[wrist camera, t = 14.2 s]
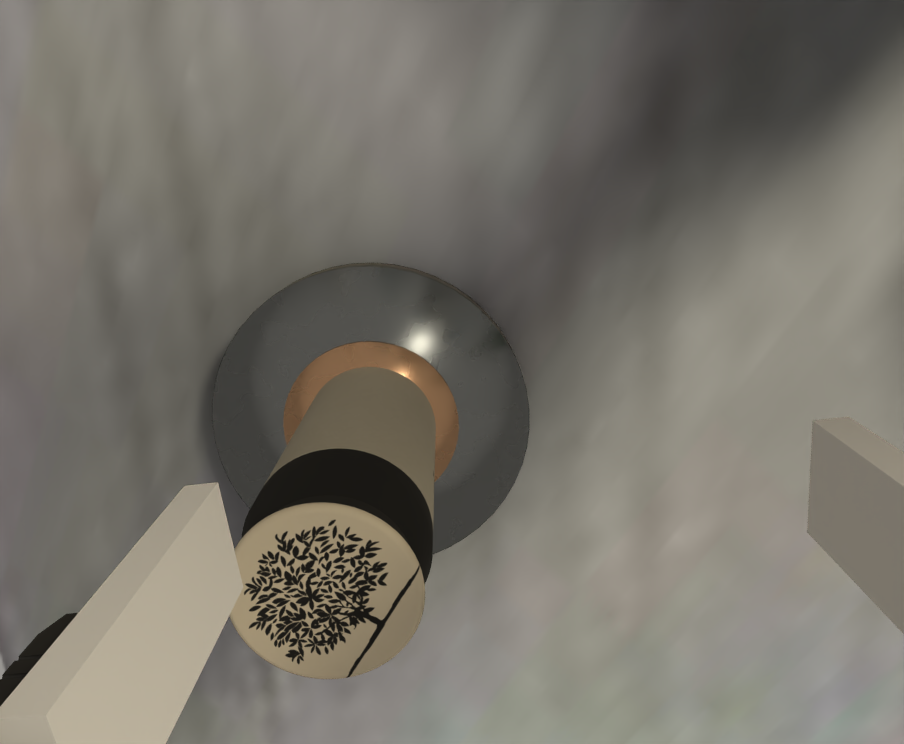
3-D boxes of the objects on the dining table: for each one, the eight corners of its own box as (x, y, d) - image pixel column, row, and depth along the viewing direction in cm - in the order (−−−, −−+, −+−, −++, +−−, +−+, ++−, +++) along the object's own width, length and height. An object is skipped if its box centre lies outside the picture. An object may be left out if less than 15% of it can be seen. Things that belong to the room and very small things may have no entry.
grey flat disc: (512, 245, 42) (516, 249, 39) (536, 533, 47) (541, 550, 45) (192, 281, 42) (178, 287, 40) (253, 562, 47) (244, 581, 45)
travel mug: (283, 435, 42) (174, 613, 25) (359, 339, 41) (298, 458, 23) (384, 507, 44) (346, 721, 27) (461, 416, 42) (475, 582, 25)
